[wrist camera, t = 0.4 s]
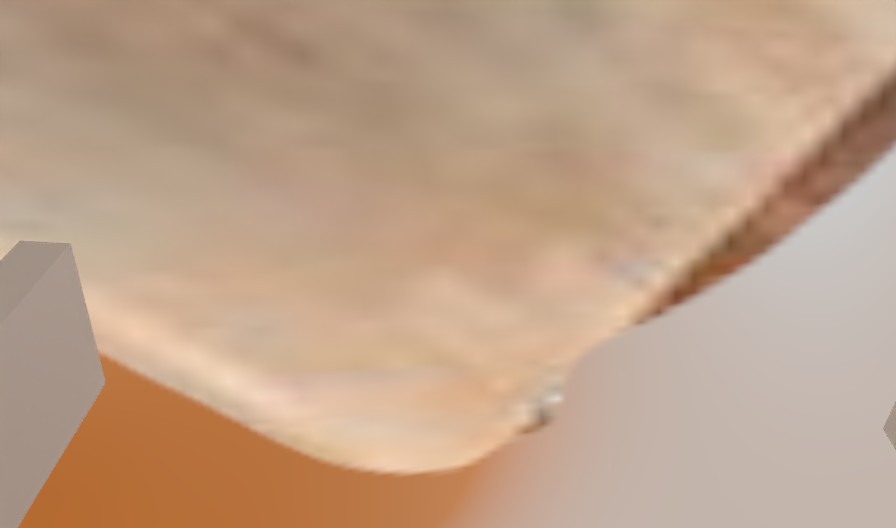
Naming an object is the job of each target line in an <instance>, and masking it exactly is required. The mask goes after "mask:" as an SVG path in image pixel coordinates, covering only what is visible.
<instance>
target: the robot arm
mask: <svg viewBox="0 0 896 528" xmlns="http://www.w3.org/2000/svg"><path fill="white" fill-rule="evenodd" d="M105 383H106V382H105V378H104V374H103V370H102V366H101V362H100V358H99V354H98V350H97V346H96V342H95V339H94V335H93V331H92V327H91V323H90V319H89V315H88V311H87V307H86V303H85V299H84V295H83V291H82V287H81V283H80V279H79V275H78V271H77V267H76V264H75V260H74V256H73V252H72V248H71V244H66V243H48V242H31V241H19V242H18V243H17V244H16V245H15V246H14V248H13V249H12V250H11V251H10V252H9V253H8V254H7V255H6V256H5V257H4V258H3V259H2V260H1V261H0V528H18V526H19V524H20V523H21V521H22V519H23V518H24V516H25V515H26V513H27V511H28V510H29V508H30V506H31V505H32V503H33V501H34V500H35V498H36V496H37V495H38V493H39V492H40V490H41V488H42V487H43V485H44V483H45V482H46V480H47V478H48V477H49V475H50V473H51V472H52V470H53V468H54V467H55V465H56V464H57V462H58V460H59V459H60V457H61V455H62V454H63V452H64V451H65V449H66V447H67V446H68V444H69V442H70V440H71V439H72V437H73V436H74V434H75V432H76V431H77V429H78V427H79V426H80V424H81V423H82V420H83V419H84V417H85V416H86V414H87V413H88V411H89V409H90V408H91V406H92V405H93V403H94V401H95V400H96V398H97V396H98V394H99V393H100V391H101V390H102V388H103V387H104V385H105ZM884 431H885V433H886V434H887V436H888V437H889V439H890V441H891V442H892V444H893V446H894V448H895V449H896V402H895V405H894V407H893V409H892V411H891V413H890V415H889V417H888V420H887V422H886V424H885V426H884Z"/></svg>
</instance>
